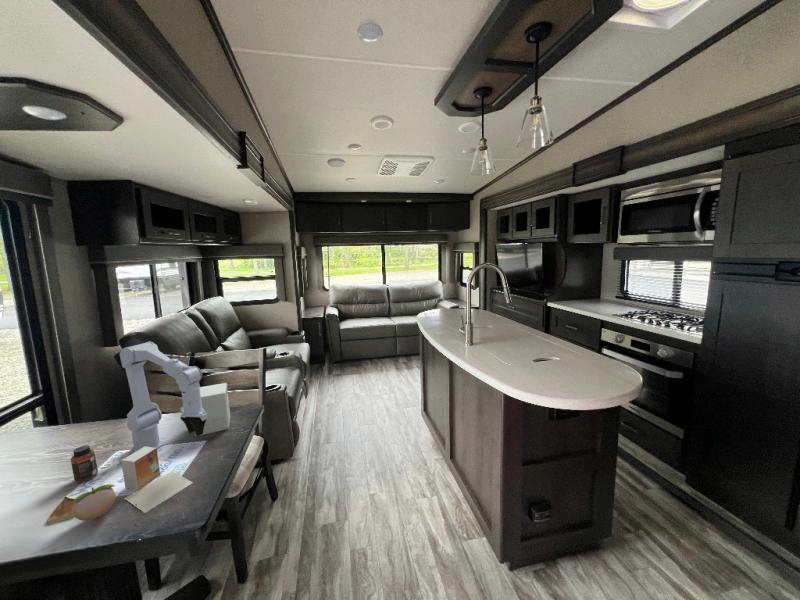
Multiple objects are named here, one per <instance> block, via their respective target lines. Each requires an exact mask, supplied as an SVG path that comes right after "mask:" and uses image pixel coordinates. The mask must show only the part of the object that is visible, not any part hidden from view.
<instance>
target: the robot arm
mask: <svg viewBox="0 0 800 600" xmlns="http://www.w3.org/2000/svg"><path fill="white" fill-rule="evenodd" d="M119 358H120V362H121V366H122V368H123V369H125V373H126V377H127V380H128V386H129V389H130V390H129V391H130V395H131V399H132V404H133V407H132V408H131V410H130V411H129V412H128V413H127V414H126V417H127V421H126V422H127V423H126V426H127V429H128V430H129V431H130V432H131V437H132V445H133V447H131V448H130V450H132V451H134V453H135V452H136V451H138V450H140V449H141V448H143V447H144V446H145V447H153V448H157V449H159V448H161V447H164V446H165V445H166V443H165V442H163V441H161V440H160V436H159V435H160V433H159V427H158V425H159V424H160V421H161V420H162V416H163V415H162V411H161V410H160V407H159V405H158V404H157V403H155V402H151V398H150V393H149V389H148V384H147V380H146V376H145V370H144V365H145V364H146V363H147V362H148V361H149V362H152V363H153V364H156V365H158V366H160V367H162V371H163V373H165V374H167V375H168V376H170V377H172V378H174V379H175V382H176V384H177V385H178V390H179V391H180V392H181V397H182V398H181V399H182V406H181V407H180V408H179V412H180V414H181V415H180V420H181V421H182V422H183V423H184V424H185V427H186V429H187V431H188V433H189V434H192V433H194V435H195V434H196V436H195V437H199V436H202V435H201V434H203V430H204V425H205V422H206V420H207V419H208V414H207V413H205V411H204V409H203V408H202V402H201V394H200V387H201V385H200V381H201V380H202V379H203V372H202V370H201V369H200V367H198V366H196V365H193V366H189V365H187V364H186V363H184V362H182V361H181V360H179V359H178V358H170V357H168V356H167V355H166V354H164V353H163V352H161V351H160V350H159V347H158V345H157V344H156V343H154V342H152V341H147V342H144V343H140V344H139V343H138V344H136V345H131V346H127V347H124V348H122V349H121V351H120V352H119ZM194 431H195V432H194Z"/></svg>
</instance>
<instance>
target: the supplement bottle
mask: <svg viewBox="0 0 800 600" xmlns="http://www.w3.org/2000/svg"><path fill="white" fill-rule="evenodd" d="M72 453H73V455H72V456H71V458H70V463H71V470H72V474H73V475H72V476H73V480H74V482H75V483H85V482H87V481H90V480H92V479H93V478H95V477H96V476H97V475H98V473H99V469H98V463H97V459H96V454H95V450H93V449H91V447H90V445H87V444H85V445H81V446H78V447H76V448H75V449H73V451H72Z"/></svg>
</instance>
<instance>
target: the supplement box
mask: <svg viewBox="0 0 800 600" xmlns="http://www.w3.org/2000/svg"><path fill="white" fill-rule="evenodd" d="M200 394H201V402H202V408H203V409H204V411H205V413H207V414H208V419H207V420H206V422H205V425H204V430H203V434H201V435H200V436H203V435H209V434H213V433H216V432H220V431H225V430H229V429H230V423H231V410H230V409H231V408H230V401H229V392H228V383H227V382H223V383H218V384H211V385H206V386H200ZM193 433H194V437H197V436H196V434H195V431H194V432H193Z"/></svg>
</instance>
